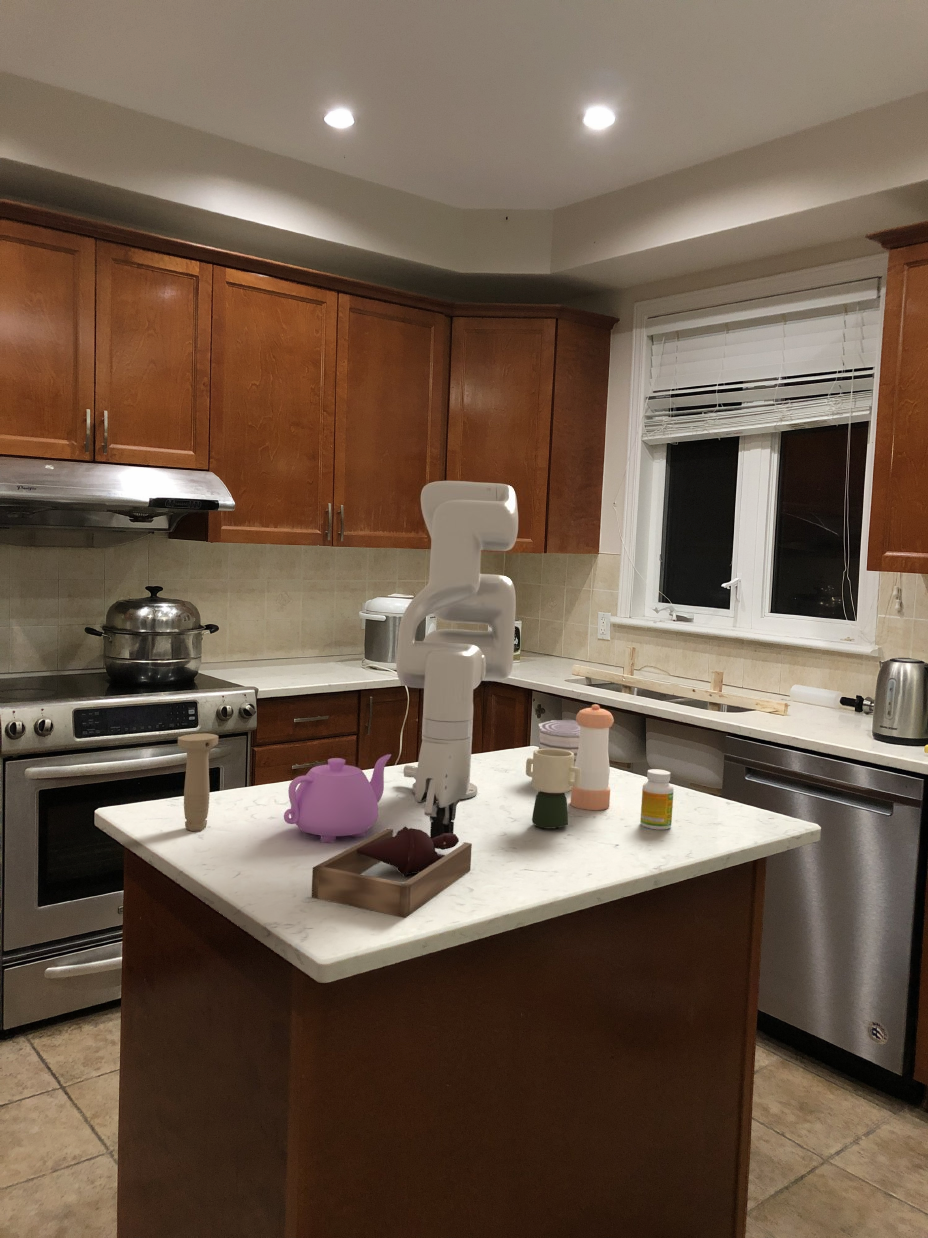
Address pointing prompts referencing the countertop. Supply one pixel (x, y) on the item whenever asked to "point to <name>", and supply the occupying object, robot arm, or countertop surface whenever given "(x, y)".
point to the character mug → (552, 785)
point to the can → (560, 735)
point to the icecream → (409, 849)
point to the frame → (352, 888)
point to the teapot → (336, 799)
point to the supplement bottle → (657, 800)
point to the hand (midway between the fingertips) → (441, 846)
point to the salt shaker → (593, 759)
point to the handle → (197, 778)
